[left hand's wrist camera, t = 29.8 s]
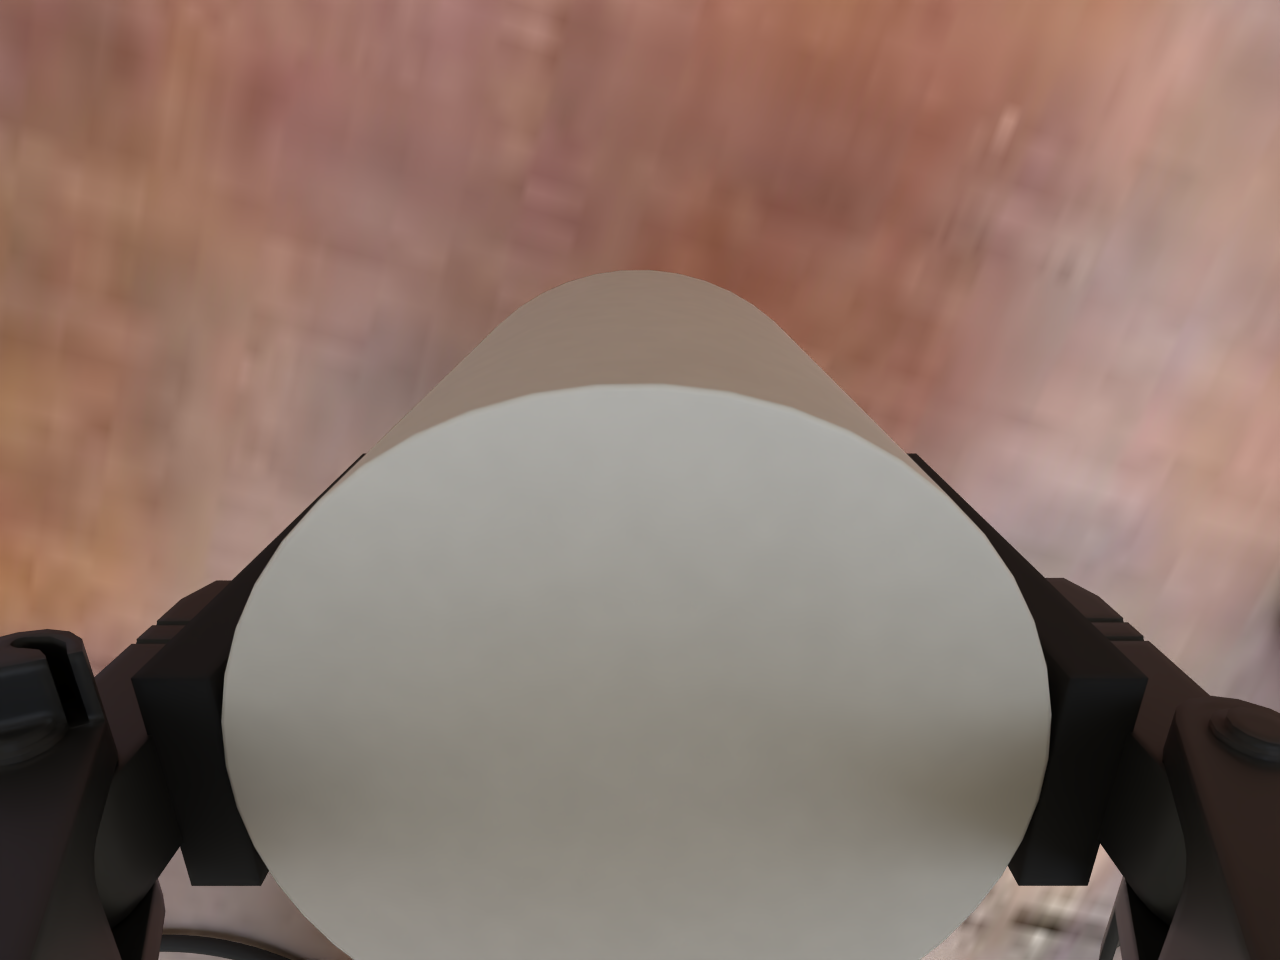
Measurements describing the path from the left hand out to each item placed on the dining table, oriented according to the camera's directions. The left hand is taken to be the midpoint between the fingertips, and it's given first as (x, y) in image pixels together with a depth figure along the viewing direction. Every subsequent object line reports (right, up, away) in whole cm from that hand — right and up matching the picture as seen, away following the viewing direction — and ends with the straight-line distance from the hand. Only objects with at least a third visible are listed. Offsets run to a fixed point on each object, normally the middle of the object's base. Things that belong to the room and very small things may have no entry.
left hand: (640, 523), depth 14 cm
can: (0, +1, +2) cm, 3 cm away
